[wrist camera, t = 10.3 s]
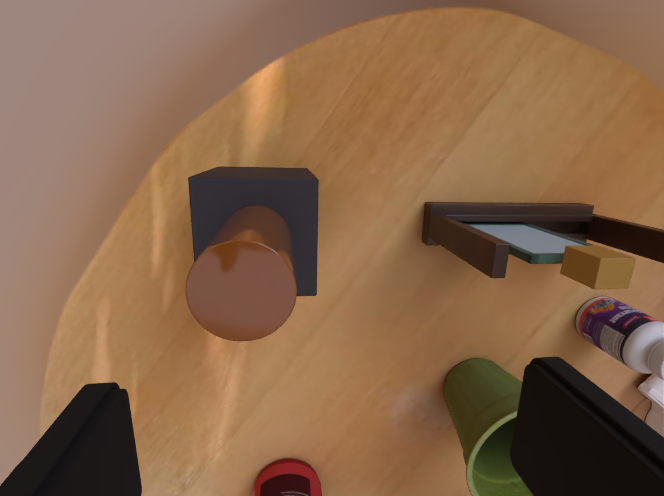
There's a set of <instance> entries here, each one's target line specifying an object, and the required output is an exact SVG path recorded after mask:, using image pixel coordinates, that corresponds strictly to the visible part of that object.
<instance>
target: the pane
mask: <svg viewBox="0 0 664 496" xmlns="http://www.w3.org/2000/svg"><path fill="white" fill-rule="evenodd" d="M464 224H466V225H468V226H470V227H473V228H475V229H477V230H480V231H482V232H484V233H486V234H489V235H491V236H493V237H495V238H498V239H500V240H502V241H505V242H507V243H509V244H510V248H509V254H511V255H513V256H515V257H518V258H520V259H522V260H524V261H526V262H528V263H530V264H558V263H562V266H561V271H560V274H563V275H565V276H567V277H569V278H571V279H573V280H575V281H577V282H580V283H582V284H584V285H586V286H588V287H590V288H592V289H627V288H629V285H630V281H631V277H632V273H633V269H634V265H635V261H636V258H634V257H631V256H628V255H625V254H622V253H619V252H616V251H613V250H610V249H607V248H604V247H600V246H597V245H592V244H589V243H586V242H583V241H580V240H577V239H574V238H571V237H568V236H565V235H562V234H559V233H556V232H552V231H549V230H546V229H543V228H540V227H537V226H534V225H531V224H528V223H464Z"/></svg>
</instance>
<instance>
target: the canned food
mask: <svg viewBox="0 0 664 496" xmlns="http://www.w3.org/2000/svg"><path fill="white" fill-rule="evenodd" d="M253 496H322V492H321V484H320V481H319V478H318V476H317V474H316V472H315V471H314V469H313V468H312V467H311V466H310V465H308V464H307V463H305V462H303V461H300V460H296V459H282V460H278V461H275V462H273V463H271V464H269V465H268V466H266V467H265V468H264V469H263V470H262V471H261V473H260V474H259V476H258V478H257V480H256V482H255V485H254V489H253Z"/></svg>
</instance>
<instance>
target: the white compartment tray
mask: <svg viewBox="0 0 664 496" xmlns="http://www.w3.org/2000/svg"><path fill="white" fill-rule="evenodd" d="M637 389H638V390H639V391H640V392H641V393H642V394H643V395H645V396H646V397H647V398H648V399H649V400H651V401H652V407H651V410H650V411H649V412H648V414H647V417H646V420H645V423H646V424H647V425H649V426H650V427H651V428H652V429H654V430H655V431H656V432H658V433H659V434H660V435H662V436H663V437H664V380H663V379H661V378H659V377H657V376H656V375H655V374H652V375H651V376H649V377H648V378H647V379H646V380H645V381H644V382H643V383H641V384H640V385H639V387H638V388H637Z"/></svg>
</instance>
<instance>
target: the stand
mask: <svg viewBox="0 0 664 496" xmlns="http://www.w3.org/2000/svg"><path fill="white" fill-rule="evenodd" d="M188 181H189V195H190V209H191V222H192V236H193V250H194V262H195V261H196V260H197V258H198V257H199V256H200V254H201V253H202V251H203V250H204V249H205V247H206V246H207V245H208V243H209V242H210V241H211V239H212V238H213V237H214V235H215V234H216V233H217V231H218V230H219V229H220V227H221V226H222V225H223V223H224V222H225V221H226V219H227V218H228V217H229V216H230V215H231V214H232V213H233V212H235V211H236V210H238V209H240V208H243V207H246V206H255V205H256V206H264V207H267V208H270V209H272V210H274V211H276V212H277V213H278V214H280V215H281V216H282V217H283V218H284V220H285V221H286V222H287V224H288V226H289V228H290V231H291V235H292V245H293V255H294V266H295V276H296V287H297V295H296V296H316V295H317V240H318V179H317V178H316V177H315V176H314V175H313V174H312V173H311V172H310V171H309V170H308V169H307V168H260V167H216V168H214V169H211V170H208V171H205V172H202V173H200V174H197V175H194V176H191V177H189V178H188Z"/></svg>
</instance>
